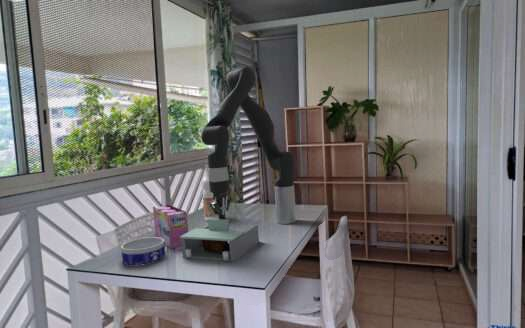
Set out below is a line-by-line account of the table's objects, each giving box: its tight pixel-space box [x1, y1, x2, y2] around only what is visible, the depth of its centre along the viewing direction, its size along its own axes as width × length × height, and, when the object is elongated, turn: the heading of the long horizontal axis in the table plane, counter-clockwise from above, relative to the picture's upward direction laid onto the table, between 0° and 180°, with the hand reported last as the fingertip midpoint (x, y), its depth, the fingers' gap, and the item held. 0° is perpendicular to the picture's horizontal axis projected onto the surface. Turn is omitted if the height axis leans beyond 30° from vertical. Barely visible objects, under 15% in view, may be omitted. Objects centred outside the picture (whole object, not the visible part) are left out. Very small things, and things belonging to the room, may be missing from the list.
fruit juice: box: [201, 164, 219, 222], centre depth 188 cm, size 9×9×28 cm
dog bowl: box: [120, 236, 166, 266], centre depth 137 cm, size 15×15×6 cm
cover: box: [180, 218, 246, 242], centre depth 134 cm, size 10×21×5 cm, turn 68°
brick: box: [202, 240, 230, 255], centre depth 136 cm, size 11×4×5 cm, turn 52°
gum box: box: [152, 203, 189, 249], centre depth 157 cm, size 24×8×14 cm, turn 32°
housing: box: [181, 223, 260, 262], centre depth 140 cm, size 24×21×7 cm
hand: (222, 223), depth 141 cm, fingers closed
